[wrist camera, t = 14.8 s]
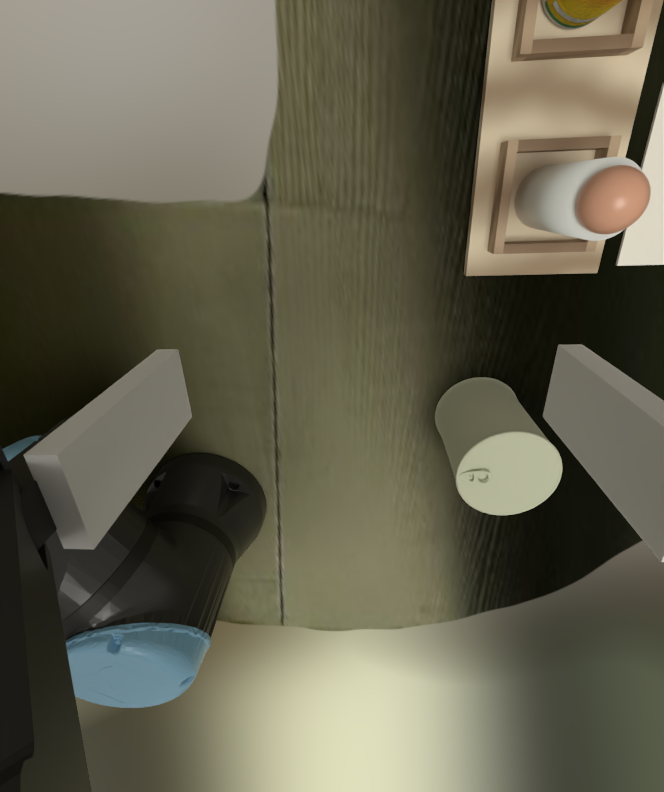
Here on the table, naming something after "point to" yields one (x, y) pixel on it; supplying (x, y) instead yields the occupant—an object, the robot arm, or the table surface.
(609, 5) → the supplement bottle
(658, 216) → the card
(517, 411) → the can
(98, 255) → the table surface
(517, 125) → the tube rack
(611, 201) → the ball tube
